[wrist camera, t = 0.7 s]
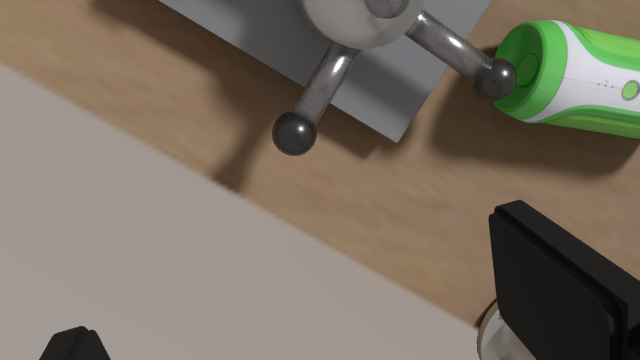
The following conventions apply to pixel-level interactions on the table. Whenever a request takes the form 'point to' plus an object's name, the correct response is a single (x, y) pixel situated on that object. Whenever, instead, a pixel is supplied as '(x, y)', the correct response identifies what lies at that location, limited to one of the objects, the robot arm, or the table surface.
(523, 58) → the speaker
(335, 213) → the table surface
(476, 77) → the capstan
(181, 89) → the table surface
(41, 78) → the table surface
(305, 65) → the stand
